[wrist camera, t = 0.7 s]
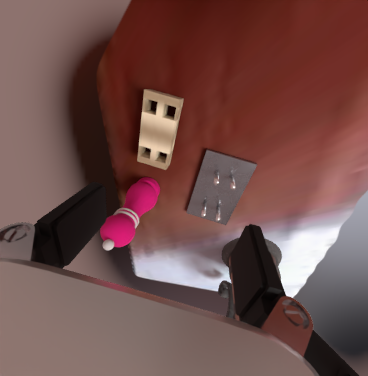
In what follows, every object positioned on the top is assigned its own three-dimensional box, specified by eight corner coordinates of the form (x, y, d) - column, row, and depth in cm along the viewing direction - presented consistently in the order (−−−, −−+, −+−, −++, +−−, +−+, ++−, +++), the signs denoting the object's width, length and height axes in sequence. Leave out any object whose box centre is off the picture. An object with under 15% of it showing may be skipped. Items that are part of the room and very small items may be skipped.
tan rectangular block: (150, 89, 33) (144, 89, 30) (183, 98, 33) (180, 99, 30) (143, 155, 40) (137, 161, 37) (169, 163, 40) (165, 169, 37)
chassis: (207, 148, 37) (205, 157, 32) (256, 163, 36) (261, 174, 32) (186, 210, 46) (183, 224, 41) (225, 222, 46) (226, 237, 41)
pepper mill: (165, 196, 45) (133, 262, 28) (142, 200, 47) (99, 264, 30) (156, 172, 42) (113, 230, 25) (131, 178, 44) (76, 234, 27)
